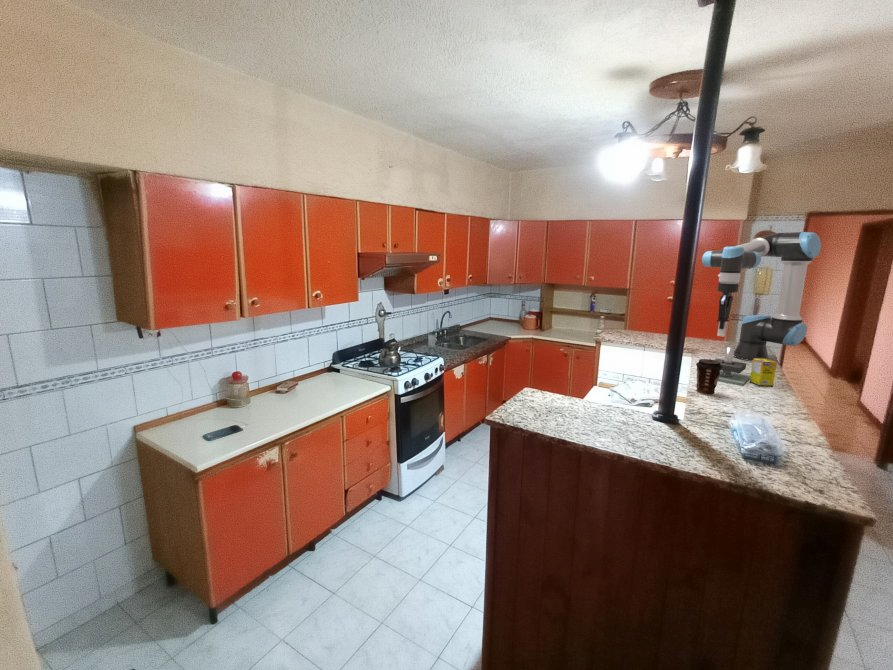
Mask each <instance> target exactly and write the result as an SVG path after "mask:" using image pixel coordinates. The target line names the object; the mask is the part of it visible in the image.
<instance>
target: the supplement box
mask: <svg viewBox="0 0 893 670" xmlns="http://www.w3.org/2000/svg"><path fill="white" fill-rule="evenodd" d="M777 365H778V362H777V361H775V360H772V359H770V358H768V359H758V358H754V359H753V361H752V364H751V372H750V375H749V376H750V380H749V381H748V383H750V384H752V385H754V386H756V387H758V388H773V387H774V382H775V376H776V372H777V371H776V370H777Z"/></svg>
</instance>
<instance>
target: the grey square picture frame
mask: <svg viewBox="0 0 893 670" xmlns="http://www.w3.org/2000/svg"><path fill="white" fill-rule="evenodd" d="M714 360H715V361H718V362H720V364H721V366H722V368H721V369H720V370H722V371H728V372H733V373H738V374H742V372H743V371H745V370H746V368H747V363H746V362H741V361H736V360H735V361H734V360H733V361H732V365H730V364H724V360H725V359H724V358H722V359H721V358H715V359H714Z"/></svg>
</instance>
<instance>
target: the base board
mask: <svg viewBox="0 0 893 670" xmlns="http://www.w3.org/2000/svg"><path fill="white" fill-rule="evenodd" d="M722 372H723V370H720V374H721V373H722ZM731 374H732V377H725V376H721V375H719V379H718V382H720V383H723V384H724V383H726V384H729V385H730V384H731V385H735V386H739V387H744V386H745V385H746V384H748V383H749V382H750V376H751V375H748V374H743V373H740V374H739V373H734V372H731Z"/></svg>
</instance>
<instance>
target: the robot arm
mask: <svg viewBox="0 0 893 670" xmlns="http://www.w3.org/2000/svg"><path fill="white" fill-rule="evenodd" d="M821 242H822V241H821V238H820V237H819V235H818V234H817V233H816V232H810V231H809V232H808V231H795V232H776V233H770V234H767V235H763V236H759V237H756V238H754V239H752V240H750V241H749V242H745V243H742V244H739V245H738V244H737V245H735V246H724V247H723V249H720V250H719V249H718V250H707V251H705V252H703V255H702V257H701V262H702V265H703V266H704V267H707V268H719V269H720V271H719V274H717V277H718V283H717V291H718V292H720V293H722V294H721V296H719V297H720V298H719V300H718V316H717V320H716V322H718V325H717V326H718V327H717V334H716V336H717V337H726V331H727V324H728V322H730V320H729V319H730V313H731V309H732V304H733V300H734V296H733V295H732V294H733V293H734V294H735V293H738V292H739V287H740V286H739V283H740V281H741V274H742V273H741V272H742V270H743V269H747V270H748V269H749V270H750V269H754V268H755V269H756V268H757V267H758V266H759V265H760V264H761V261H762V258H763V257H773V258H781V259H780V262H781V263H782V264H783V270H782V271H783V272H782V276H781V285H780V289H779V290H780V291H779V297H778V303H777V311H776V313H775V314H774V315H773V316H771V315H769V314H767V315H764V314H763V315H762V314H757V315H752V314H750V315H745V316H743V318H742V322H741V328H740V335H739V340H738V344H737V346H736V347H735V349H734V356H736V357H739V358H743V359H748V360H753V359H754V358H758V359H769V352H768V349H767V343H768V342H769V343H775V344H779V345H783V346H790V347H794V346H798V345H799V344H800V343H802V341H803V340H804V338H805V336H806V335H807V331H808V327H807V326H808V325H807V324H806V323H804V322H803V317H801V315H800V311H801V306H802V300H803V295H804V294H803V293H804V287H805V283H806V282H805V281H806V275H807V270H808V265H809V264H811V263H812V262H813V260H814V259H815V258H817V257H818V256H819V255H820V252H821V248H822V243H821ZM748 360H747V361H748Z"/></svg>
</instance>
